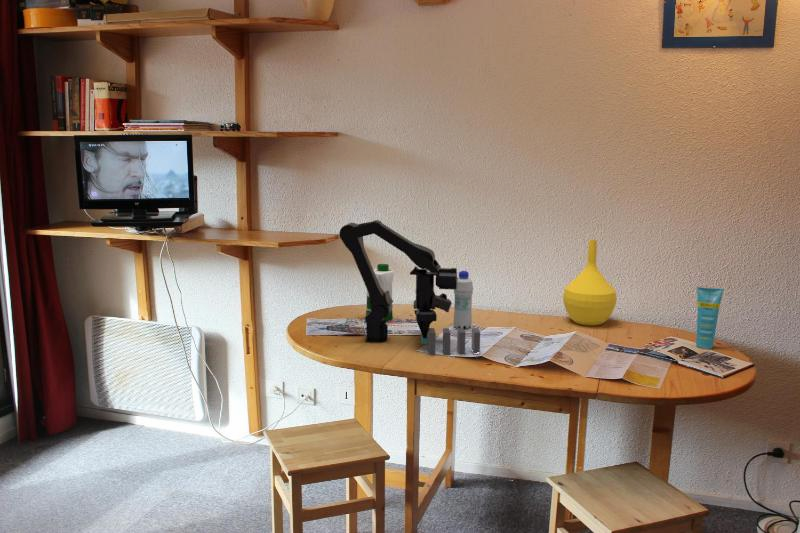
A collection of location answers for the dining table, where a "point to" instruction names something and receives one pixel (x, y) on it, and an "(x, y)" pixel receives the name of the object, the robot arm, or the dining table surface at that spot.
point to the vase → (589, 294)
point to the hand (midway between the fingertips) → (424, 335)
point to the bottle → (463, 301)
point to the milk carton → (383, 284)
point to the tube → (707, 315)
